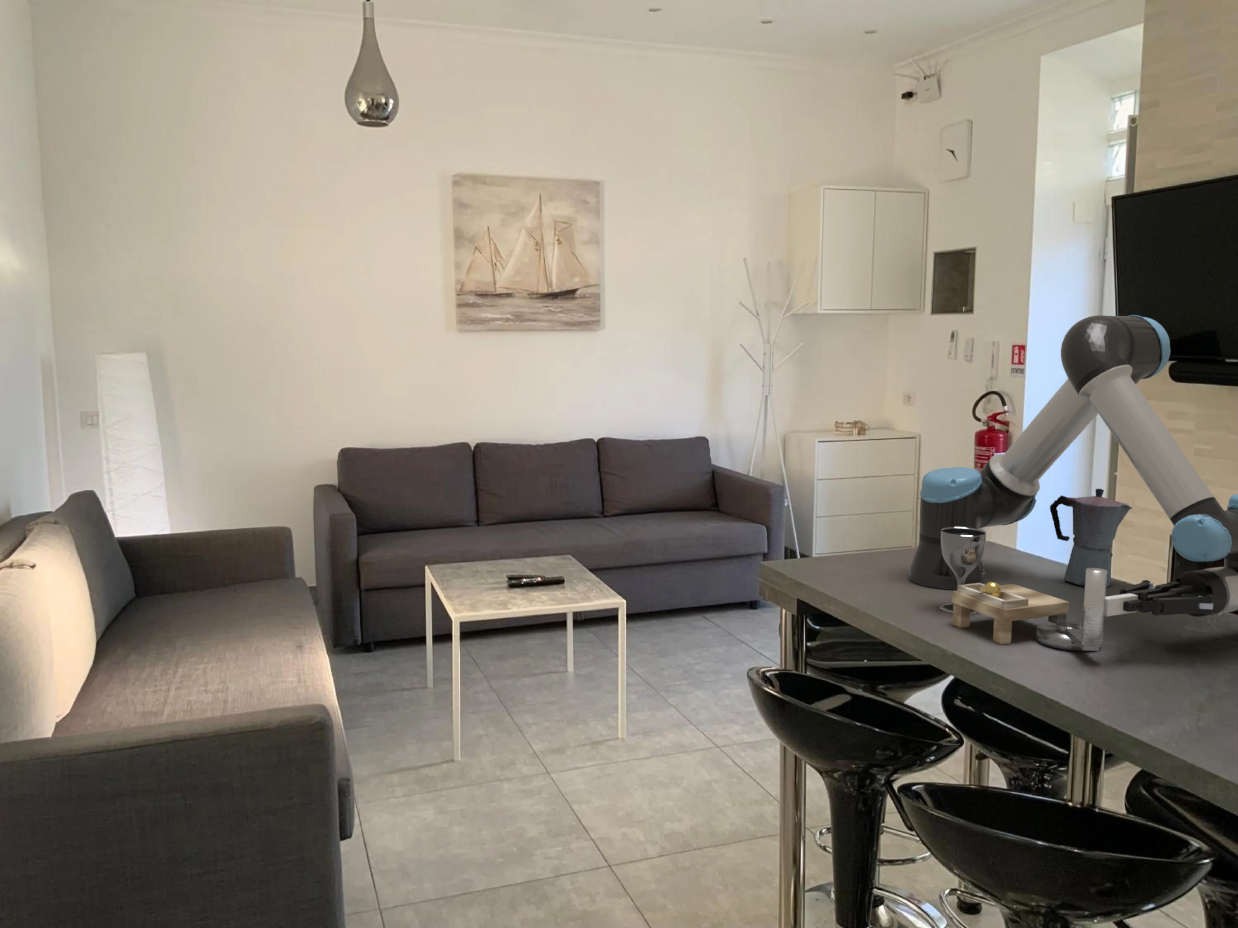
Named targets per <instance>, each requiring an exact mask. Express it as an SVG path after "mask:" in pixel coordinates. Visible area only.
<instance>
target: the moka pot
mask: <svg viewBox="0 0 1238 928" xmlns="http://www.w3.org/2000/svg"><path fill="white" fill-rule="evenodd" d="M1104 491H1105V490H1104V489H1102V488H1096V489H1095V495H1093V496H1092V495H1091V496H1081V497H1067V496H1065V495H1060V496H1059V497H1057V499H1055V500H1054V501H1053V502H1052V503H1051V505H1050V506H1049V510H1050V514H1051V519H1052V521H1053V527H1054V531H1055V534H1056V538H1057V540H1061V541H1065V542H1069V540H1070V538H1071V537H1070V536H1068V535H1063V532H1062V530H1061V522H1060V517H1059V513H1058V512H1059V511H1058V509H1057V508H1058V507H1059V506H1060V505H1064V506H1065V507H1071V508H1072V535H1073V536H1074V537H1073V538H1072V541H1073V545H1072V548H1071V552H1070V555H1069V556H1070V557H1069V560H1068V562H1067V567H1066V569H1065V573H1064V578H1063V580H1064V581H1067V582H1069V583H1070V584H1075V585H1077V586H1083V587H1085V577H1086V569H1087V568H1100V569H1104V570H1107V583H1106V588H1109V587H1110V586H1111V583H1112V582H1111V581H1112V578H1111V577H1112V567H1111V566H1112V565H1111V564H1112V561H1111V560H1112V559H1111V558H1112V557H1113V552H1112V550H1111V549H1112V546H1113V541H1114V540H1115V538H1116V534H1117V532H1118V527H1119V526H1120V524H1121V523H1122V521H1123V520H1124V518H1125V517H1126V515H1127V514H1128V512H1129V511H1130V510H1132V509H1133V508H1132V506H1130V505H1129V504H1127V503H1124V502H1121V501H1117V500H1116V501H1115V500H1112V499H1110V498H1106V497H1103V495H1104Z"/></svg>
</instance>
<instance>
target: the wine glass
mask: <svg viewBox="0 0 1238 928" xmlns="http://www.w3.org/2000/svg"><path fill="white" fill-rule="evenodd" d="M986 532H987V531H985V530H982V529H981V528H978V529H975V528H967V527H947V528H943V529H941V550H942V555H943V558H944V560H945V562H946V563H947V565H948V566H949V567H950V568H951V570H952V571H953V572H954V574H955V576H956V578H957V583H958V585H964V582H965V579H966V577H967V576H968V575H969V573H970V572H971V571H972V570H973V569H974V568H975V567H976V566H977V565H978V564H979V563H980V562H982V559H983V556H984V554H985V548H986V539H987V533H986ZM953 606H954V603H946V604H941V605H940V606H939V609H940V610H941V611H942V612H945V613H949V614H953ZM976 614H979V612H977V611H974V610H971V609H970V616H971V615H976Z"/></svg>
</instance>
